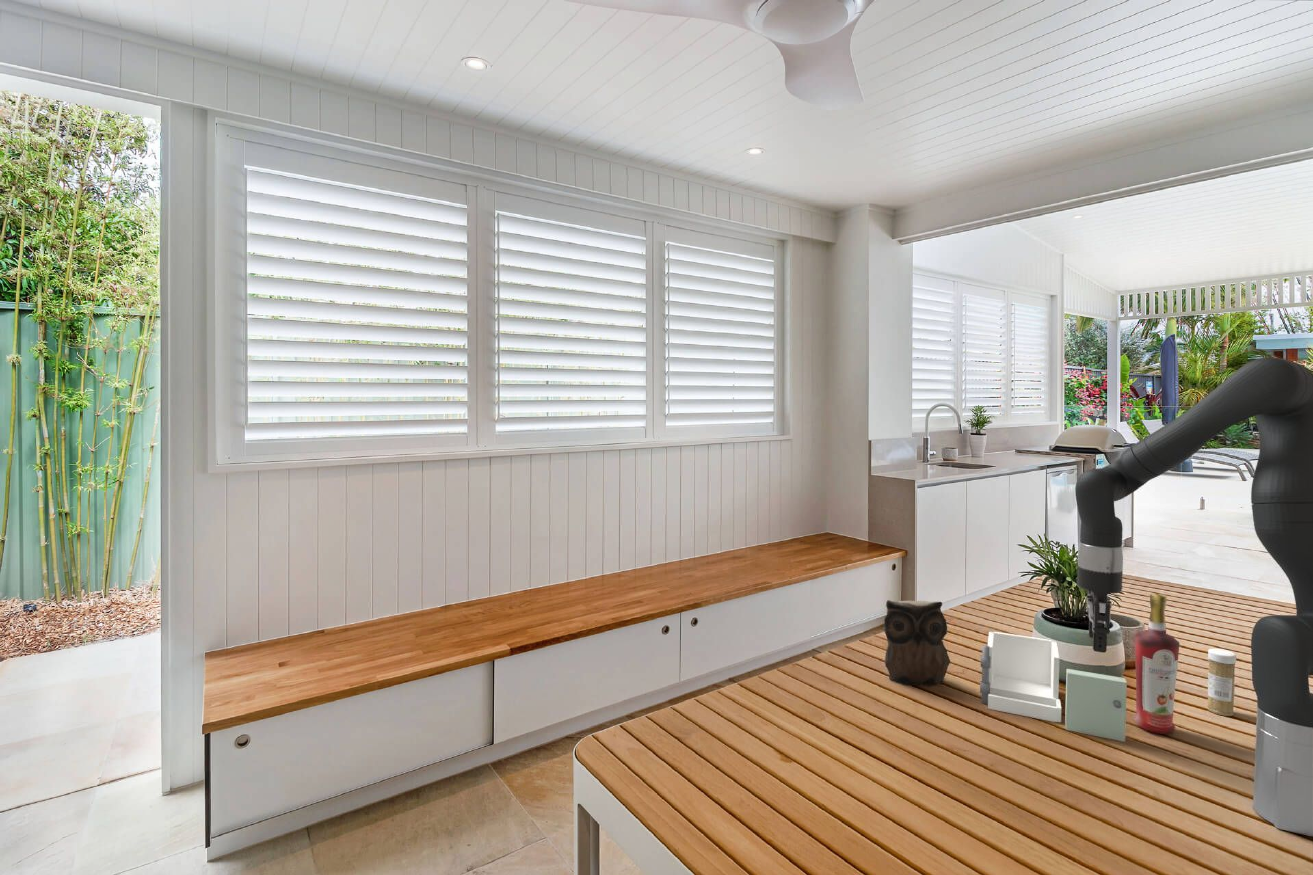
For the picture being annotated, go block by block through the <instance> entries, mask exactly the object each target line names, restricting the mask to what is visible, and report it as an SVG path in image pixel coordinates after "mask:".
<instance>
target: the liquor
mask: <svg viewBox="0 0 1313 875" xmlns="http://www.w3.org/2000/svg"><path fill="white" fill-rule="evenodd" d="M1149 606H1150V613H1149V621H1148V629H1147V630H1142V631H1140V632H1138V633H1136V634H1134V662H1135V666H1134V667H1135V684H1136V685H1135V688H1136V690H1135V692H1136V695H1135V696H1136V697H1135V698H1136V701H1135V703H1136V714H1134V716H1133V721H1135V722H1136V723H1137V724H1138V726H1139V727H1140V728H1141V729H1142V730H1144V731H1146V732H1149V733H1152V734H1159V735H1164V734H1167V733H1170V732H1171V731H1174V730H1175V729H1176V726H1175V724H1174V722H1173V720H1174V708H1175V707H1174V705H1175V693H1176V692H1175V691H1176V685H1177V684H1176V682H1177V674H1178V665H1179V653H1180V642H1179V641H1178V640H1177V639H1176V638H1175V637H1174V636H1172V635H1171V634H1168V633H1167V626H1166V616H1165V614H1166V613H1165V612H1166V611H1165V610H1166V607H1167V595H1164V594H1160V593H1150V594H1149Z"/></svg>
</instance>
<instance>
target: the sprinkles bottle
mask: <svg viewBox="0 0 1313 875" xmlns="http://www.w3.org/2000/svg"><path fill="white" fill-rule="evenodd" d="M1207 654H1208V656H1207V658H1208V673H1207V674H1208V675H1207V676H1208V677H1207V705H1206V709H1207V710H1208V711H1209V712H1211V713H1213V714H1215V715H1218V716H1223V717H1224V716H1225V717H1232V716H1234V714H1235V712H1234V707H1235V706H1234V703H1235V702H1234V701H1235V675H1236V674H1235V667H1236V663H1237V654H1235V652H1233V651H1230V650H1226V649H1223V648H1222V649H1221V648H1209V649H1208V652H1207Z"/></svg>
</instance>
